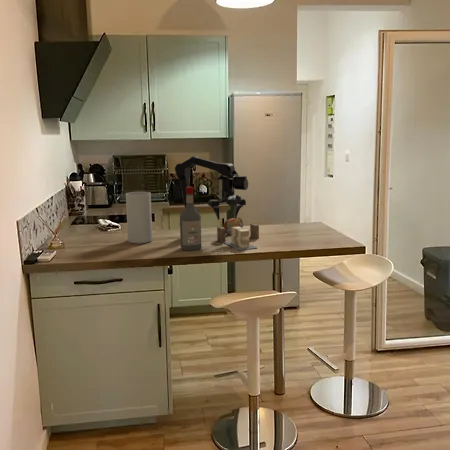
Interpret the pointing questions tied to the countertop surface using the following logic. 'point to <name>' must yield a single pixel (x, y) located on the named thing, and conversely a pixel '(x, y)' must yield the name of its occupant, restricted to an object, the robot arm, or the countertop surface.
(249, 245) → the mat
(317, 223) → the countertop surface
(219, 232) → the holder
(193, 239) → the liquor
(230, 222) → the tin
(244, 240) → the block
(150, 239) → the cylinder vase
